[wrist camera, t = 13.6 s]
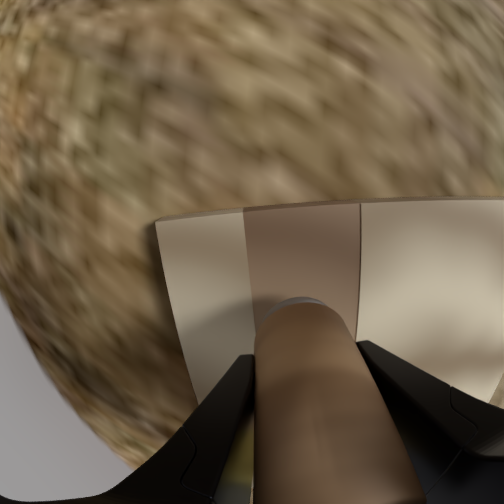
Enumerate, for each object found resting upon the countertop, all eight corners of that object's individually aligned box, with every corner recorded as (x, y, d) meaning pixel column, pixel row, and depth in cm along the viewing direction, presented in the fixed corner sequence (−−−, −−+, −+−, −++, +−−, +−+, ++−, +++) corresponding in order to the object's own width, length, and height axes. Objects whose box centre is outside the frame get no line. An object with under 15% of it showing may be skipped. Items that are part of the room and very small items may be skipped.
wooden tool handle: (339, 359, 10) (398, 530, 3) (258, 368, 10) (260, 555, 3) (342, 285, 9) (454, 473, 2) (249, 295, 9) (241, 521, 2)
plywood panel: (465, 425, 15) (470, 433, 14) (229, 476, 16) (229, 487, 15) (532, 197, 10) (544, 201, 9) (163, 216, 10) (154, 222, 9)
